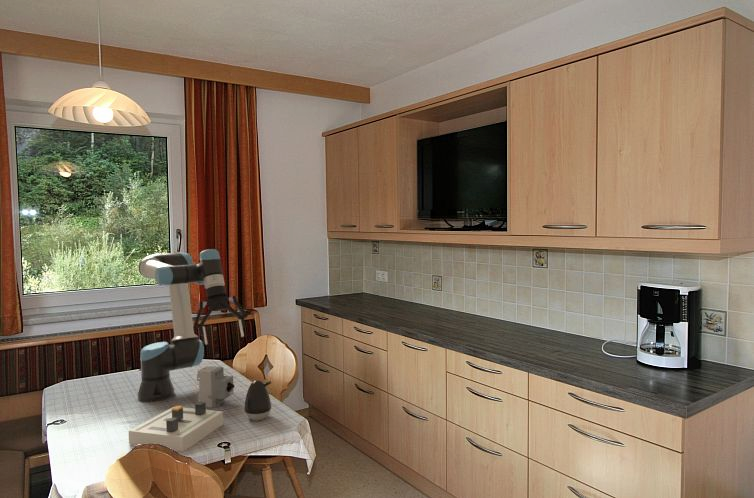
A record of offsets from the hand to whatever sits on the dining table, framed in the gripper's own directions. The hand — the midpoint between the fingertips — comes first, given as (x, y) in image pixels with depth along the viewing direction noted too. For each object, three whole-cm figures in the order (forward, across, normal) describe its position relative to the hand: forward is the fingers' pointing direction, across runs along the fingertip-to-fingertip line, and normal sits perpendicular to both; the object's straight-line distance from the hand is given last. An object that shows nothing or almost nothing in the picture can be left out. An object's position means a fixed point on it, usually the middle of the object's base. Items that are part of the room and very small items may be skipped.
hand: (224, 340), depth 196 cm
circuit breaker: (+21, -5, +33) cm, 39 cm away
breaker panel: (+29, -21, +8) cm, 37 cm away
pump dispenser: (+31, +8, +12) cm, 34 cm away
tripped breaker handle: (+24, -21, +6) cm, 32 cm away
